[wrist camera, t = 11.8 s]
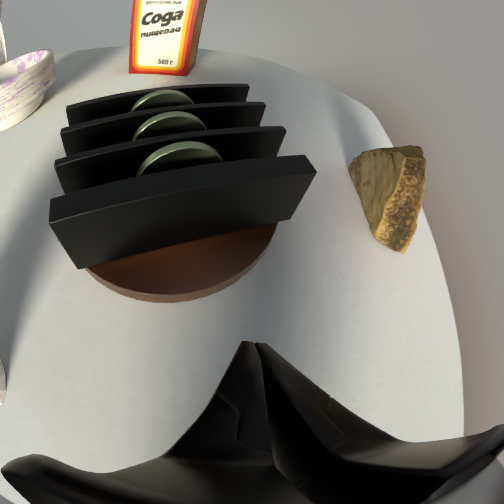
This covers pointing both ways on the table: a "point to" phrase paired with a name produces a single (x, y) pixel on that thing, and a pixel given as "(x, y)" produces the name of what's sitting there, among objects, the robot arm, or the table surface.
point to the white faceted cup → (2, 382)
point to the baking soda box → (165, 36)
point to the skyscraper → (2, 42)
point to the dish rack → (169, 171)
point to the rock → (391, 192)
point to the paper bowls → (24, 85)
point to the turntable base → (186, 267)
